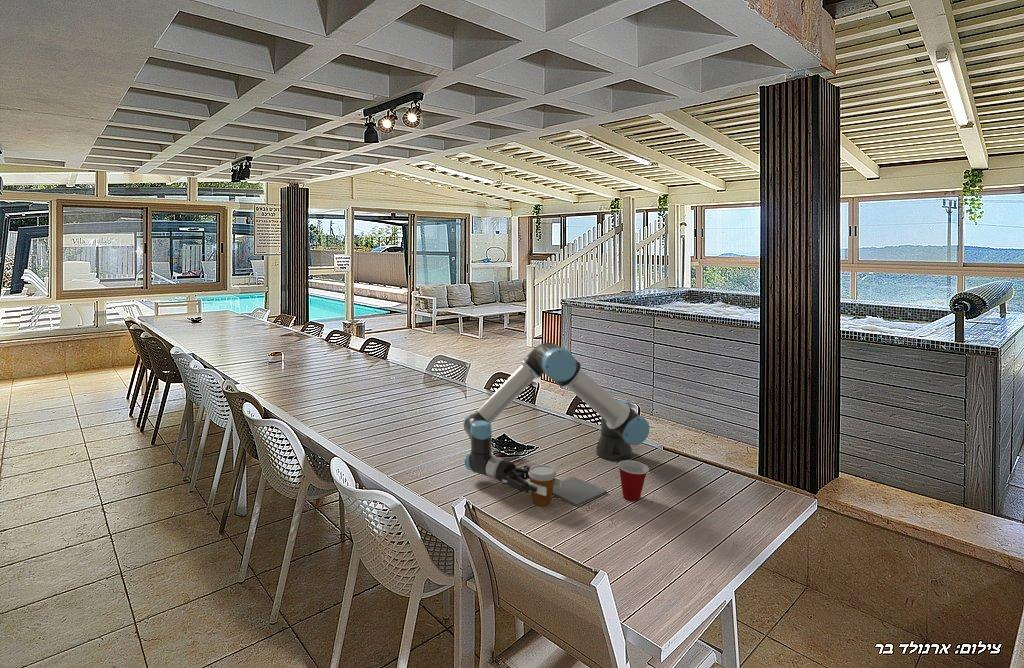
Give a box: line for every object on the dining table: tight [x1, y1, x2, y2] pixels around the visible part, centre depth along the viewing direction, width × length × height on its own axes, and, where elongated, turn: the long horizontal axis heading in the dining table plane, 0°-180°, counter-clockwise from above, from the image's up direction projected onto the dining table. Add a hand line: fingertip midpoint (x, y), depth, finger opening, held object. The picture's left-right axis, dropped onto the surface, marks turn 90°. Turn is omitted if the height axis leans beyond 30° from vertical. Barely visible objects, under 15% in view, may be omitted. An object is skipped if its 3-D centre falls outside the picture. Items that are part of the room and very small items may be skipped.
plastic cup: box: [617, 459, 650, 502], centre depth 200 cm, size 11×11×12 cm
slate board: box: [552, 476, 608, 507], centre depth 205 cm, size 16×16×1 cm
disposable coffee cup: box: [528, 464, 557, 508], centre depth 195 cm, size 10×10×12 cm
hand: (553, 487), depth 192 cm, fingers closed on disposable coffee cup, 8 cm apart
